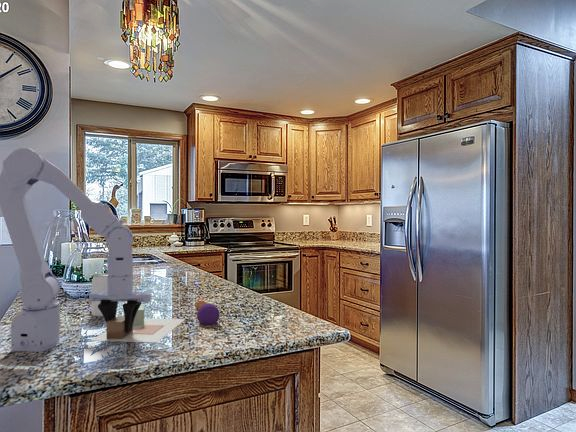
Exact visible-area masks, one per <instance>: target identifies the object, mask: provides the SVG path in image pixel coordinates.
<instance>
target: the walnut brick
mask: <svg viewBox="0 0 576 432" xmlns="http://www.w3.org/2000/svg"><path fill="white" fill-rule="evenodd" d="M106 331H107V339H122V338H124V337H126V336H127V335H129V334H130V333H132V332H133V326H132V331H130V332H129V333H125V316H124V314H123V315H122V314H121V315H116V317H115V318H113V319H111V320H109V321H107V324H106Z"/></svg>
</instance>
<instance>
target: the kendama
mask: <svg viewBox="0 0 576 432" xmlns="http://www.w3.org/2000/svg"><path fill="white" fill-rule="evenodd" d="M195 308H196V311H197V312H196V319H197V320H198V322H199V324H201V325H203V326H211V325H215V324H217V323H218V321H219V319H220V318H221V316H220V313H221V312H220V310H219V308H218V307H217V306H216V305H215V304H212V303H206V301H205V300H199V301H197V302H196V304H195Z"/></svg>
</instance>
